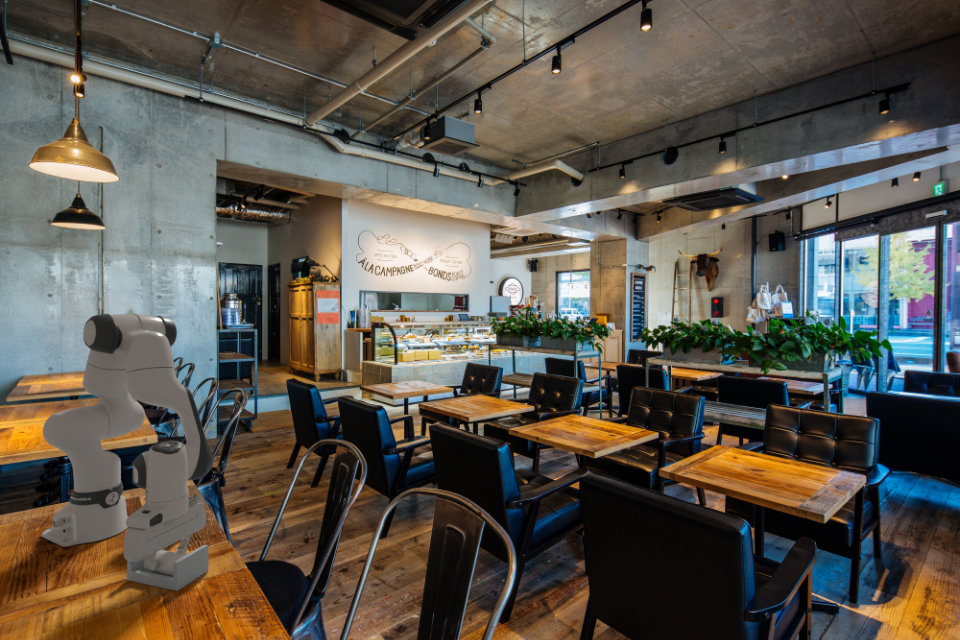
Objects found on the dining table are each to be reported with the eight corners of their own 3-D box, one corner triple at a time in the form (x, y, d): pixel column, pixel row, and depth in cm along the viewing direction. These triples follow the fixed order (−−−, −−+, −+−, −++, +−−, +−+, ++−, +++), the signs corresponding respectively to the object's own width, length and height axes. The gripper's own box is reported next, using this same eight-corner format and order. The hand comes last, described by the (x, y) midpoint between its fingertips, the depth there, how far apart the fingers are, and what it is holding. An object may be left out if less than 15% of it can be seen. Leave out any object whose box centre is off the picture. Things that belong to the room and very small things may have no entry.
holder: (127, 580, 117) (127, 553, 117) (161, 562, 126) (160, 536, 126) (177, 590, 113) (176, 562, 113) (208, 571, 122) (208, 545, 122)
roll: (144, 574, 119) (143, 555, 118) (162, 564, 123) (161, 545, 123) (175, 581, 116) (174, 561, 116) (192, 570, 121) (191, 551, 120)
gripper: (193, 491, 130) (194, 540, 130) (118, 522, 111) (118, 580, 111) (212, 493, 128) (212, 543, 129) (138, 525, 109) (139, 585, 109)
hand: (168, 561), depth 120 cm, fingers open, 6 cm apart
